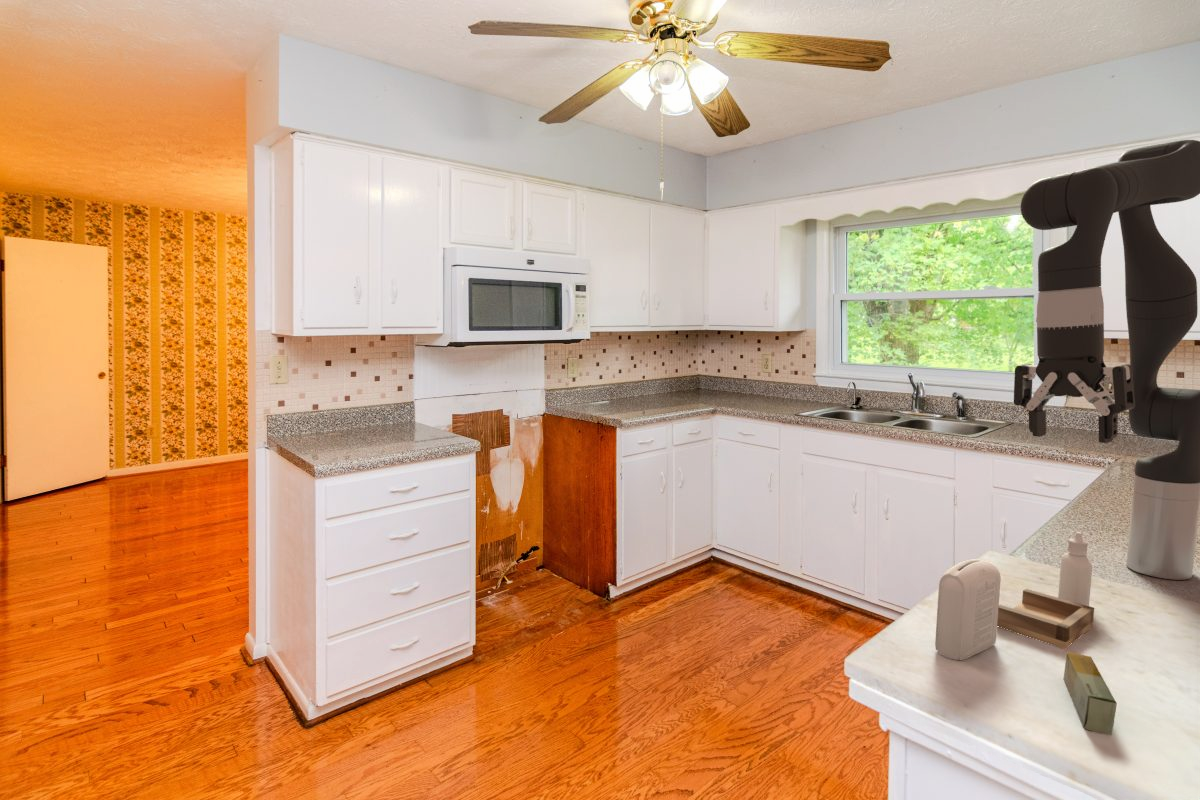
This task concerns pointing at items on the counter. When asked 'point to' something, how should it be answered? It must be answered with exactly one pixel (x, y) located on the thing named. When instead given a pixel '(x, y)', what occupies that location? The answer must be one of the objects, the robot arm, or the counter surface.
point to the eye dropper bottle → (1075, 572)
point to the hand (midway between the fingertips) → (1071, 438)
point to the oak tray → (1047, 618)
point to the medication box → (1089, 694)
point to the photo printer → (967, 609)
